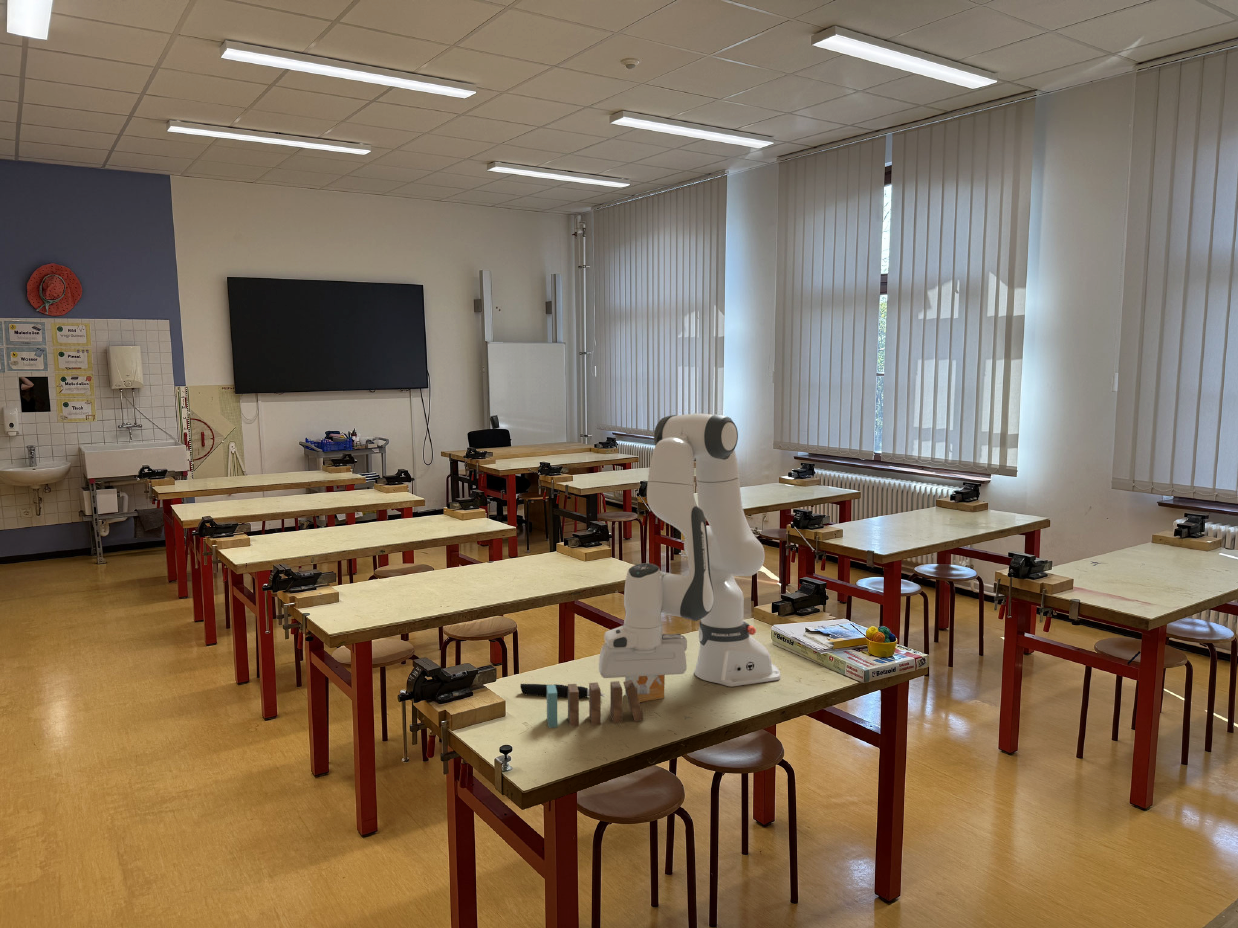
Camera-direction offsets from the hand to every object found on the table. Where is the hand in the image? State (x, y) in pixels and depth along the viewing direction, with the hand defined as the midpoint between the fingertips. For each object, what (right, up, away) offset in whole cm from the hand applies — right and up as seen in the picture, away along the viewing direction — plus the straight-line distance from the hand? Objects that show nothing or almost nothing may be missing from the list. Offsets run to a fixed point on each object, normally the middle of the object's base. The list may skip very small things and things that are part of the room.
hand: (642, 693), depth 193 cm
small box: (+1, -5, +13) cm, 14 cm away
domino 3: (-11, -6, -1) cm, 13 cm away
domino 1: (-21, -6, -2) cm, 22 cm away
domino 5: (-1, -6, +1) cm, 6 cm away
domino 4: (-6, -6, 0) cm, 8 cm away
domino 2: (-16, -6, -2) cm, 17 cm away
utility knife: (-19, -5, +13) cm, 24 cm away
